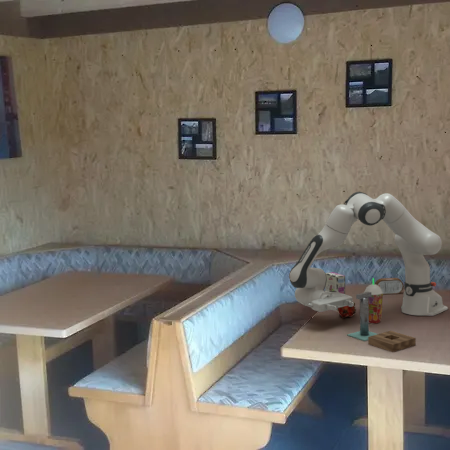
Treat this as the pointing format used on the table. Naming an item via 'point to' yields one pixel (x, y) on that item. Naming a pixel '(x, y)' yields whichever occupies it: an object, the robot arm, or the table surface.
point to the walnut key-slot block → (392, 341)
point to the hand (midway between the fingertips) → (344, 306)
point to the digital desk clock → (390, 285)
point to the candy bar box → (335, 282)
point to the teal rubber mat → (363, 338)
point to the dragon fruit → (347, 311)
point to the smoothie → (374, 302)
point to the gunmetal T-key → (364, 313)
